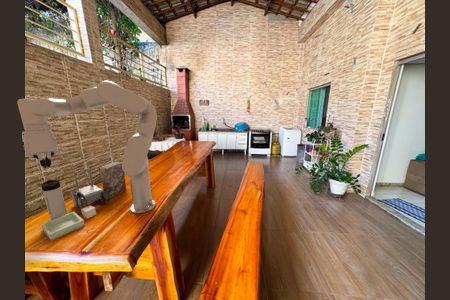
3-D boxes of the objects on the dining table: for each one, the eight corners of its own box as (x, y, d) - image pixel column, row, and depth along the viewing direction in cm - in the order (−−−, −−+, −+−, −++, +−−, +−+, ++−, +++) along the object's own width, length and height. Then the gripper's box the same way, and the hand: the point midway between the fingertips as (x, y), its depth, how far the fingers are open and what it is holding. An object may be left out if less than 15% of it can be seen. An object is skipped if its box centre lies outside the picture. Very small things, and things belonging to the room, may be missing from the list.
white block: (96, 214, 89) (95, 207, 88) (87, 218, 85) (86, 211, 84) (91, 211, 91) (90, 205, 90) (82, 216, 87) (81, 209, 87)
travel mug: (66, 213, 90) (57, 178, 85) (69, 218, 85) (60, 181, 81) (49, 219, 85) (39, 182, 80) (51, 224, 81) (41, 185, 76)
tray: (84, 225, 80) (83, 219, 79) (50, 241, 70) (48, 234, 70) (75, 216, 87) (73, 211, 86) (42, 229, 77) (41, 224, 76)
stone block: (113, 198, 105) (107, 167, 100) (103, 197, 106) (97, 167, 101) (128, 189, 117) (124, 161, 113) (119, 188, 118) (114, 161, 114)
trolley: (110, 203, 98) (104, 171, 94) (85, 214, 89) (77, 178, 84) (97, 196, 107) (91, 166, 103) (73, 204, 98) (66, 172, 93)
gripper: (57, 126, 83) (65, 162, 87) (8, 128, 71) (20, 170, 75) (62, 127, 79) (70, 164, 83) (11, 129, 67) (23, 173, 71)
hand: (46, 167), depth 79 cm, fingers closed
